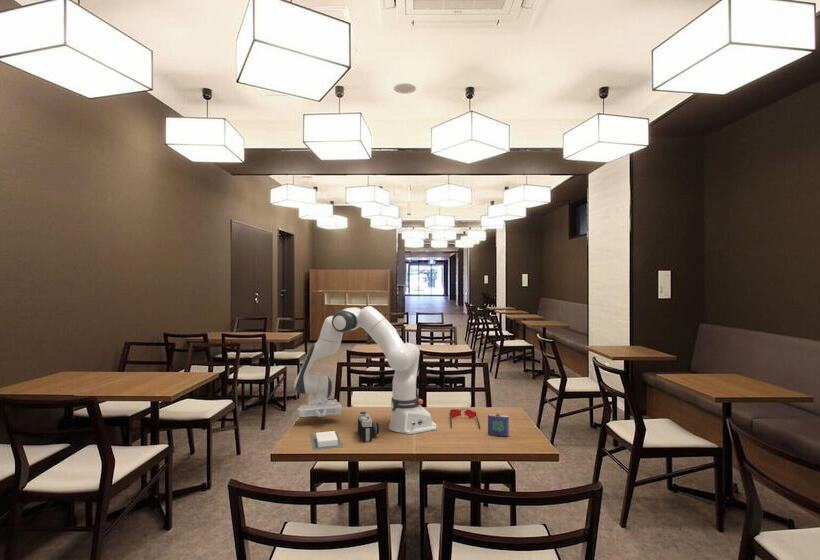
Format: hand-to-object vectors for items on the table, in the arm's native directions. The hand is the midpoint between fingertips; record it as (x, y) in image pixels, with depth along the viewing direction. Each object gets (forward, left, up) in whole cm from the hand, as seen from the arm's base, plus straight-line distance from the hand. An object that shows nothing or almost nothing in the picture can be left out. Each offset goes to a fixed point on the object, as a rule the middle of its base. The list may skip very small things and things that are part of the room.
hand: (321, 415), depth 200 cm
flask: (-75, +29, -7) cm, 81 cm away
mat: (0, +16, -7) cm, 17 cm away
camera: (-19, +16, -7) cm, 25 cm away
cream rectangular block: (0, +12, -5) cm, 13 cm away
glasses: (-67, +9, -7) cm, 68 cm away
